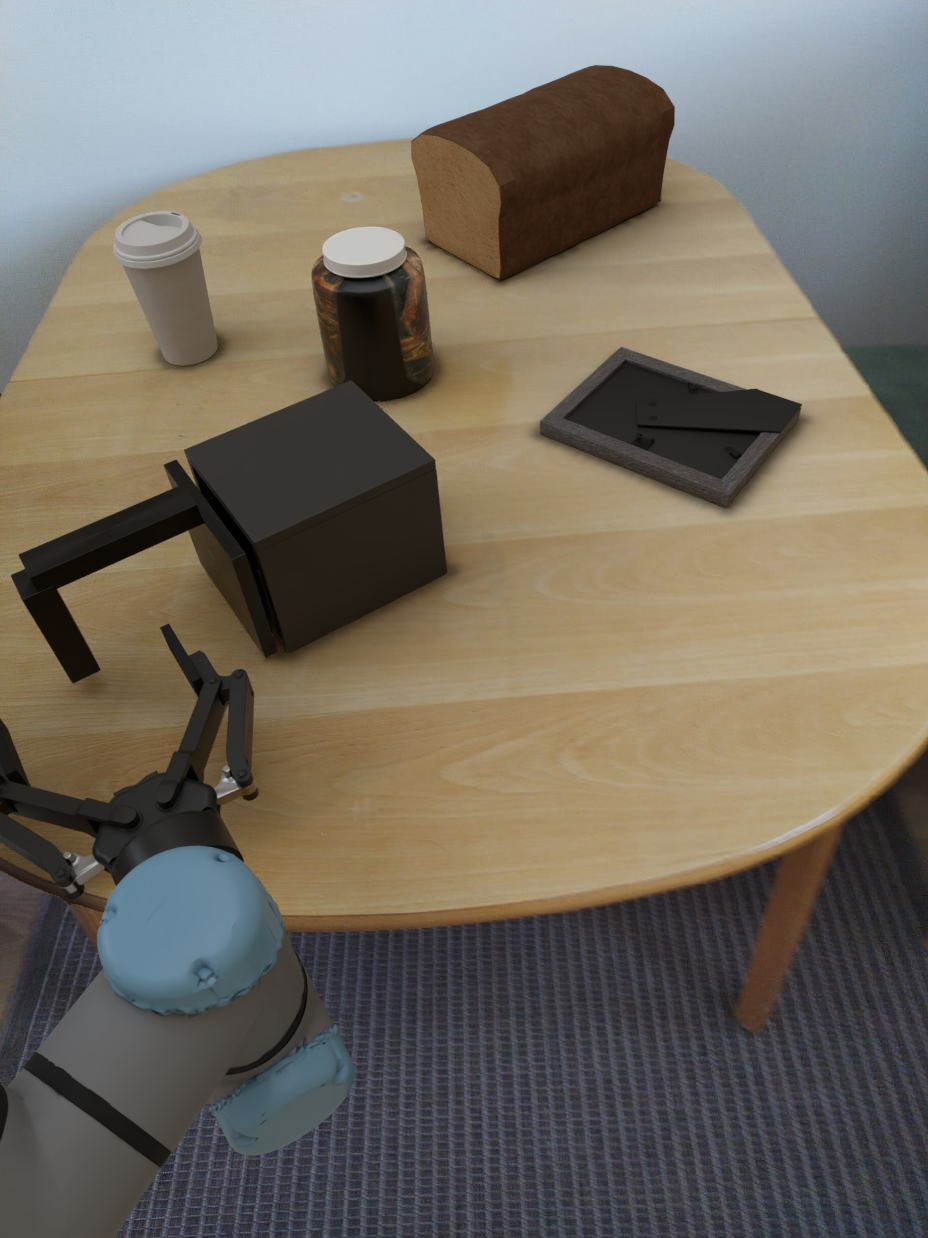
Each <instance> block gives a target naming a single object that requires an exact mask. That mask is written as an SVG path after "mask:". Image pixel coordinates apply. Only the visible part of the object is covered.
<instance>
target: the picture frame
mask: <svg viewBox="0 0 928 1238" xmlns="http://www.w3.org/2000/svg"><path fill="white" fill-rule="evenodd" d="M802 405H803V403H801V402H797V401H794V400H792V399H788V398H785V397H782V396H779V395H776V394H773V393H770V392H767V391H764V390H762V389H758V388H748V389H747V388H745V387H741V386H739V385H736V384H732V383H729V382H727V381H724V380H721V379H718V378H715V377H712V376H708V375H705V374H703V373H701V372H700V373H699V372H697V371H694V370H692V369H688V368H685V367H683V366H679V365H676V364H673V363H670V362H667V361H665V360H661V359H658V358H656V357H652V356H649V355H646V354H643V353H641V352H637V351H634V350H632V349H628V348H625V347H622V346H620V347H619V348H618V349H617V350H615V351H614V352H613V354H610V356H609V357H608V358H607V359H606V360H605V361H604V362H603V363H601V364H600V365H599V366H597V368H596V369H595V370H594V371H593V372H591V374H590V375H589V376H587V378H584V380H583V381H582V382H581V383H580V384H579V385H577V386H576V387H575V388H574V389H573V390H572V391H571V392H570V393H569V394H567V396H565V397H564V399H562V400H561V401H560V402H559V403H558V404H557V405H555V407H553V409H551V410H550V411H549V412H548V413H547V414H546V415H544V417H542V419H541V420H539V434H540V435H543V436H545V437H547V438H550V439H552V440H555V441H558V442H559V443H562V444H565V445H567V446H570V447H573V448H575V449H578V450H580V451H582V452H584V453H588V454H590V455H592V456H594V457H598V458H600V459H603V460H604V461H608V462H610V463H613V464H615V465H618V466H620V467H622V468H625V469H628V470H630V471H632V472H635V473H637V474H639V475H642V476H645V477H647V478H649V479H652V480H655V481H658V482H659V483H662V484H665V485H668V486H670V487H672V488H674V489H678V490H679V491H683V492H685V493H688V494H690V495H693V496H695V497H698V498H700V499H702V500H705V501H707V502H710V503H712V504H715V505H717V506H720V507H722V508H725V509H727V508H728V507H729V505H730V504H731V503H732V501H733V500H734V499H735V498H736V497H737V496H738V495H739V494H740V492H741V491H742V489H743V488H744V487H745V486H746V485H747V483H748V482H749V481H750V480H751V478H752V477H754V475H755V473H756V472H757V471H758V470H759V469H760V468H761V466H762V465H763V464H764V463H765V461H766V460H767V459H768V458H769V457H770V455H772V453H773V452H774V451H775V449H776V448H777V447H778V446H779V445H780V443H782V441H783V439H784V438H785V437H786V436H787V435H788V433H789V432H790V431H791V430H792V429H793V428H794V426H795V425H796V424H797V422H798V421H799V420H800V419H799V418H800V415H801V411H802Z"/></svg>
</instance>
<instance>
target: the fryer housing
mask: <svg viewBox="0 0 928 1238" xmlns="http://www.w3.org/2000/svg"><path fill="white" fill-rule="evenodd" d="M183 452H184V455H185V458H186V459H187V463H188V467H189V469H190V473H191V475H192V477H193V480H194V484H195V485H196V486H197V488H198V489H199V490H200V492H201V493H202V495H203V496H204V497H205V496H208V495H210V494H212V493H213V494H214V495H215V497H216V498H217V499H218V501H219V502H220V503H221V505H222V506H223V507H224V509H225V510H226V511H227V513H228V514H229V515H230V517H231V518H232V519H233V521H234V522H235V523H236V525H237V526H238V527H239V529H240V530H241V531H242V533H243V534H244V535H245V537H246V538H247V539H248V541H249V542H250V543H251V545H252V547H253V551H254V554H255V557H256V560H257V563H258V566H259V570H260V573H261V576H262V579H263V582H264V585H265V589H266V592H267V595H268V598H269V601H270V604H271V608H272V611H273V614H274V617H275V620H276V623H277V626H278V630H279V634H277V633H276V631H275V630H274V629H273V627H272V626H271V624H270V623H269V625H270V628H271V631H272V633H274V635H275V636H276V638H277V639H278V640H279V642H280V644H281V645H282V646H283V648H284V649H285V650H286V652H287V653H288V654H291V653H293V652H295V651H297V650H299V649H301V648H303V647H305V646H307V645H308V644H311V643H313V642H315V641H316V640H319V639H320V638H322V637H324V636H326V635H329V634H330V633H332V632H334V631H336V630H338V629H340V628H342V627H344V626H346V625H348V624H350V623H351V622H354V621H356V620H358V619H360V618H362V617H363V616H366V615H367V614H369V613H371V612H374V611H375V610H377V609H379V608H381V607H383V606H385V605H387V604H389V603H391V602H393V601H395V600H397V599H398V598H401V597H403V596H405V595H407V594H408V593H411V592H413V591H415V590H416V589H418V588H420V587H422V586H424V585H426V584H428V583H430V582H433V581H434V580H436V579H438V578H440V577H442V576H443V575H445V574H447V573H448V569H447V567H448V566H447V559H446V547H445V539H444V530H443V529H444V528H443V520H442V510H441V500H440V491H439V481H438V473H437V472H438V471H437V463H436V459H435V457H433V456H432V455H431V454H430V453H429V452H428V451H426V449H425V448H424V447H423V446H421V444H419V442H417V440H415V439H414V438H413V437H412V436H411V435H410V434H409V433H408V432H407V431H406V430H405V429H404V428H402V426H401V425H399V423H397V422H396V421H395V420H394V419H393V417H391V416H390V415H389V414H388V413H387V412H386V411H385V410H384V409H383V408H382V407H380V405H378V403H376V402H375V400H372V399H371V398H370V397H369V396H368V395H367V394H365V393H364V392H363V391H362V390H361V389H360V388H359V387H358V386H357V385H356V384H355V383H354V382H353V381H352V380H351V381H348V382H346V383H344V384H341V385H339V386H336V387H334V386H333V387H332V388H329V389H327V390H324V391H321V392H320V393H316V394H314V395H313V396H309V397H307V398H305V399H303V400H300V401H297V402H296V403H293V404H291V405H288V406H286V407H283V408H281V409H279V410H276V411H273V412H271V413H269V414H267V415H264V416H262V417H259V418H256V419H255V420H252V421H250V422H246V423H244V424H242V425H240V426H237V427H234V428H233V429H231V430H228V431H225V432H223V433H221V434H218V435H216V436H213V437H211V438H209V439H206V440H203V441H201V442H199V443H197V444H194V445H192V446H189V447H186V448H185V449H183Z"/></svg>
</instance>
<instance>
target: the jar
mask: <svg viewBox="0 0 928 1238" xmlns="http://www.w3.org/2000/svg"><path fill="white" fill-rule="evenodd" d="M321 251H322V255H320V256H319V257H318V258H317V259H316V261H315V262H314V264H313V266H312V268H311V275H310V277H311V287H312V294H313V295H312V296H313V300H314V305H315V312H316V317H317V322H318V327H319V328H318V329H319V334H320V337H321V343H322V344H321V345H322V349H323V353H324V358H325V363H326V368H327V369H326V370H327V374H328V377H329V381H330V383H331V384H332V385H333V388H334V387H336V386H339V385H341V384H344V383H346V382H348V381H351V380H352V381H353V382H354V383H355V384H356V385H357V386H358V387H359V388H360V389H361V390H362V391H363V392H364V393H365V394H367V395H368V396H369V397H370V398H371V399H372V400H373V401H387V400H393V399H398V398H399V399H400V398H402V397H405V396H408V395H411V394H412V393H415V392H417V391H419V390H420V389H422V388H423V387H424V386H425V385H427V384H428V383H429V381H430V380H431V378H432V377H433V374H434V371H435V363H434V362H435V361H434V348H433V338H432V329H431V319H430V318H431V317H430V308H429V299H428V290H427V282H426V274H425V269H424V265H423V261H422V259H421V257H420V256H419V254H418V253H417V252H416V251H415V250H414V249H412V248H410V247H408V246H406V241H405V238H404V237H403V235H402V234H400V233H399V232H398V231H395V230H393V229H391V228H388V227H382V226H369V225H368V226H357V227H352V228H348V229H345V230H342V231H339V232H337V233H334V234H333V235H331V236H329V238H327V239H326V240H325V241H324V243H323V244H322V248H321Z"/></svg>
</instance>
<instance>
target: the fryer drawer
mask: <svg viewBox="0 0 928 1238" xmlns="http://www.w3.org/2000/svg"><path fill="white" fill-rule="evenodd" d="M162 466H163V468H164V472H165V473H166V477H167V480H168V481H169V483H170V487H171V488H170V489H168V490H166V491H164V492H162V493H158V494H157V495H154V496H152V497H149V498H147V499H145V500H143V501H140V502H137V503H135V504H133V505H131V506H128V507H126V508H124V509H122V510H119V511H117V512H114V513H112V514H110V515H107V516H105V517H103V518H100V519H98V520H96V521H93V522H91V523H88V524H86V525H84V526H81V527H79V528H77V529H74V530H72V531H70V532H67V533H65V534H63V535H61V536H58V537H56V538H53V539H51V540H48V541H46V542H44V543H42V544H40V545H37V546H35V547H32V548H30V549H27V550H25V551H23V552H20V553H18V558H19V559H20V561H21V563H22V565H23V568H24V569H20V570H18V571H16V572H15V573H12V574H10V578H11V580H12V583H13V584H14V586H15V588H16V591H17V593H18V595H19V597H20V599H21V601H22V603H23V604H24V606H25V608H26V610H27V611H28V613H29V614H30V616H31V617H32V619H33V621H34V623H35V625H36V626H37V628H38V629H39V631H40V633H41V634H42V636H43V637H44V639H45V641H46V642H47V644H48V645H49V648H50V649H51V650H52V653H53V654H54V656H55V657H56V659H57V661H58V662H59V664H60V665H61V667H62V669H63V671H64V673H65V674H66V675H67V677H68V679H69V680H70V682H71V684H76V683H77V682H78V683H79V682H80V681H82V680H85V679H87V678H88V677H90V676H92V675H95V674H97V673H98V672H101V671H102V669H101V667H100V665H99V663H98V661H97V659H96V657H95V655H94V653H93V651H92V649H91V647H90V645H89V644H88V642H87V640H86V639H85V637H84V635H83V633H82V631H81V629H80V627H79V626H78V624H77V622H76V620H75V618H74V616H73V615H72V613H71V611H70V609H69V608H68V606H67V604H66V603H65V600H64V599H63V597H62V595H61V593H60V591H59V590H58V589H60V588H63V587H65V586H68V585H70V584H71V583H74V582H76V581H79V580H81V579H83V578H85V577H88V576H90V575H92V574H94V573H97V572H99V571H101V570H103V569H105V568H107V567H110V566H112V565H114V564H116V563H118V562H122V561H123V560H126V559H128V558H131V557H133V556H135V555H137V554H139V553H141V552H143V551H146V550H148V549H151V548H153V547H155V546H157V545H160V544H161V543H164V542H166V541H168V540H170V539H172V538H173V539H174V538H175V537H178V536H179V535H183V534H184V533H186V532H188V534H189V537H190V539H191V542H192V544H193V547H194V549H195V553H196V555H197V558H198V560H199V563H200V566H202V568H203V569H204V571H205V572H206V574H207V575H208V576H209V578H210V579H211V581H212V582H213V584H214V585H215V588H217V590H218V591H219V593H220V594H221V595H222V597H223V599H224V600H225V602H226V603H227V604H228V606H229V607H230V609H231V610H232V612H233V613H234V615H235V616H236V618H237V619H238V621H239V623H241V625H242V626H243V628H244V629H245V631H246V632H247V634H248V635H249V637H250V638H251V640H252V641H253V642H254V644H255V645H256V647H257V649H258V650H259V651H260V653H261V654H262V656H263V658H265V659H268V658H270V657H271V656H273V655H276V654H278V653H279V650H278V646H277V644H276V641H275V638H274V635H273V631H272V629H271V628H270V625H269V623H270V624H271V626H272V627H273V629H274V630H275V631H276V633H277V634H279V630H278V626H277V623H276V620H275V617H274V614H273V611H272V608H271V604H270V601H269V598H268V595H267V592H266V589H265V585H264V582H263V579H262V576H261V573H260V570H259V566H258V563H257V560H256V557H255V554H254V551H253V547H252V545H251V543H250V542H249V541H248V539H247V538H246V537H245V535H244V534H243V533H242V531H241V530H240V529H239V527H238V526H237V525H236V523H235V522H234V521H233V519H232V518H231V517H230V515H229V514H228V513H227V511H226V510H225V509H224V507H223V506H222V505H221V503H220V502H219V501H218V499H217V498H216V497H215V495H214V494H213V493H212V494H210V495H208V496H205V497H204V496H203V495H202V493H201V492H200V490H199V489H198V488H197V486H196V483H195V481H193V480H192V478H191V476H189V473H187V472H186V470H185V469H184V467H183V466H182V465H181V463H180V461H179V460H178V459H174V460H171V461H169V462H166V463H163V465H162Z"/></svg>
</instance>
